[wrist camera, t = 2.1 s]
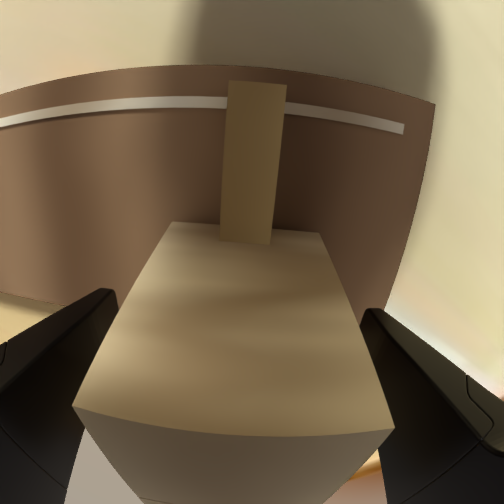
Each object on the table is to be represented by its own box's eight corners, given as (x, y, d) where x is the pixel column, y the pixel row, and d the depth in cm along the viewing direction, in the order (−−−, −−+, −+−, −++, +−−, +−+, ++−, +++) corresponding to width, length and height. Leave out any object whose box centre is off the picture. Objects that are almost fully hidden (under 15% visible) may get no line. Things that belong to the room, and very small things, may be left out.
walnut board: (398, 101, 9) (436, 104, 7) (357, 293, 13) (376, 333, 10) (-42, 116, 8) (-78, 126, 6) (-21, 256, 12) (-48, 280, 10)
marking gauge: (320, 97, 9) (528, 107, 1) (286, 323, 13) (306, 517, 5) (192, 87, 8) (-8, 62, 1) (190, 316, 12) (147, 507, 5)
